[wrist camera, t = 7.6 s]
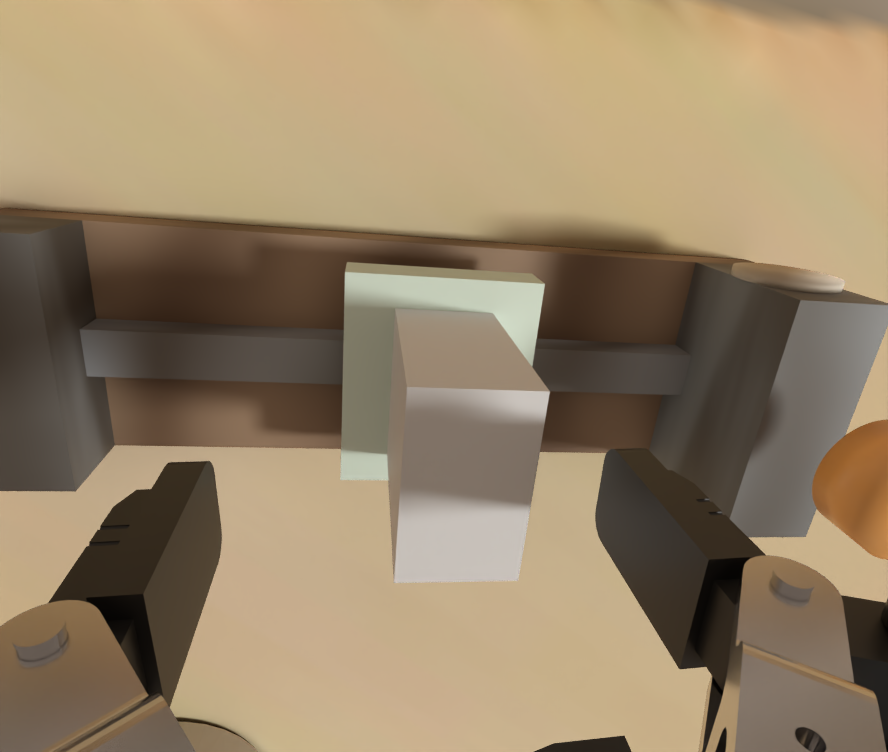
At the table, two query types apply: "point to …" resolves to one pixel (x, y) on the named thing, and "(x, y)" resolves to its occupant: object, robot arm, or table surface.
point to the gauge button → (857, 487)
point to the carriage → (445, 412)
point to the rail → (322, 335)
